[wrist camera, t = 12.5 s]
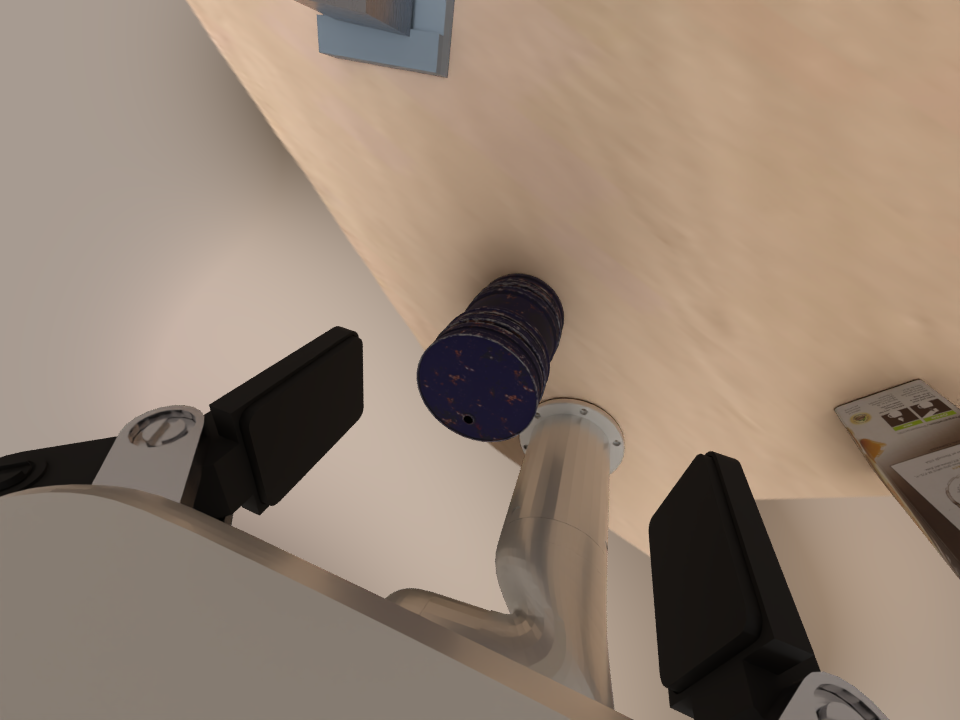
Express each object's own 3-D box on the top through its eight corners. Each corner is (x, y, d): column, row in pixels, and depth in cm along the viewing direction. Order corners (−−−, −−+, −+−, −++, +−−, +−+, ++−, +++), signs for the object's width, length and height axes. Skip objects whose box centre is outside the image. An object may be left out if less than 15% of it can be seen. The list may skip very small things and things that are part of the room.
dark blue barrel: (485, 260, 37) (421, 314, 25) (578, 287, 36) (557, 358, 23) (470, 341, 43) (410, 418, 31) (549, 368, 41) (520, 460, 29)
